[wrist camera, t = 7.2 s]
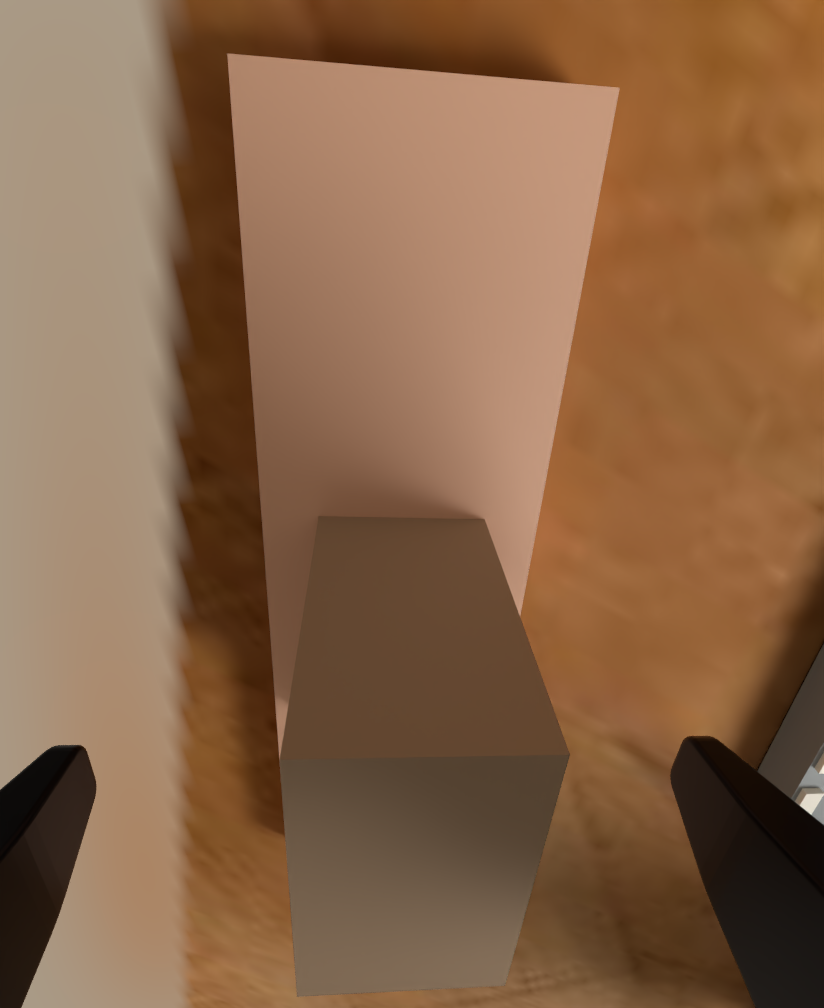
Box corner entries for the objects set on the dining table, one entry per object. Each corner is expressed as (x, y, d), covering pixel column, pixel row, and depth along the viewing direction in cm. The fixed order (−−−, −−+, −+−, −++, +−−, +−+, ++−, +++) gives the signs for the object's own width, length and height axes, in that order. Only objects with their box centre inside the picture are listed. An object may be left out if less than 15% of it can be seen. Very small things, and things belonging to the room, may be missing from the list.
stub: (464, 835, 17) (509, 1140, 11) (293, 841, 16) (256, 1159, 11) (588, 102, 8) (985, -78, 3) (245, 73, 8) (-16, -199, 3)
